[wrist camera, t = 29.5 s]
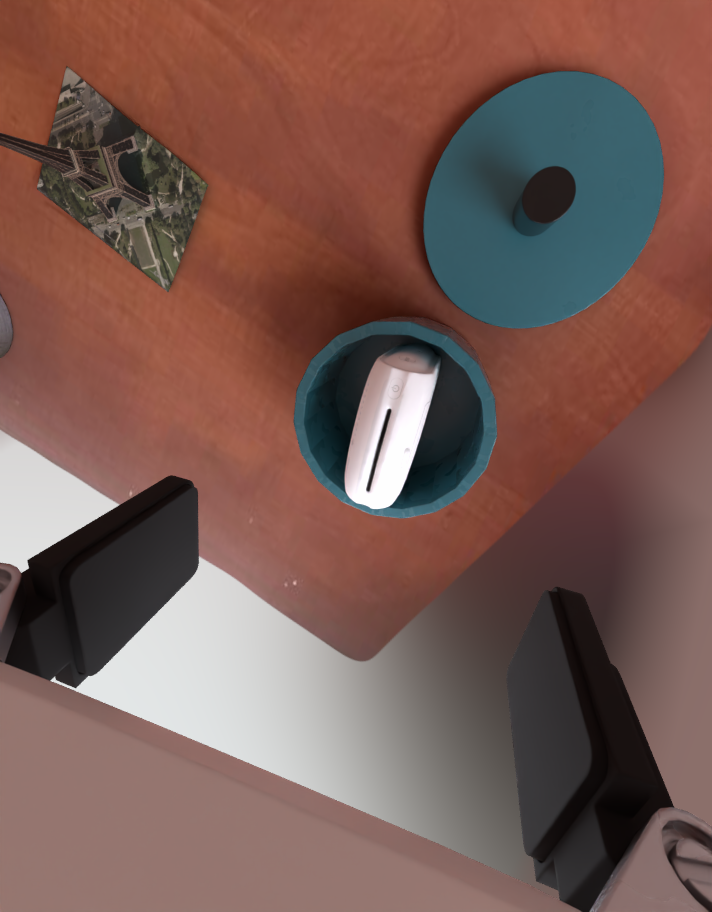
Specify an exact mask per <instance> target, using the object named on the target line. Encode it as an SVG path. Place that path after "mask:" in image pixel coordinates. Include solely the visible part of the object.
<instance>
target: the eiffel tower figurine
mask: <svg viewBox="0 0 712 912" xmlns="http://www.w3.org/2000/svg"><path fill="white" fill-rule="evenodd" d="M0 145H1V146H4V147H6V148H9V149H11V150H13V151H16V152H18V153H21V154H23V155H25V156H28V157H30V158H32V159H35V160H37V161H39V162H41V163H43V164H42V169H41V173H40V177H39V181H38V186H37V189H38V190H39V191H40V192H41V193H43V194H44V195H45V196H46V197H48V198H49V199H50V200H52V201H53V202H54V203H55V204H57V205H58V206H59V207H60V208H62V209H63V210H64V211H66V212H67V213H68V214H69V215H71V216H72V217H73V218H74V219H76V220H77V221H78V222H80V223H81V224H82V225H83V226H85V227H86V228H87V229H88V230H90V231H91V232H92V233H94V234H95V235H96V236H97V237H99V238H100V239H101V240H102V241H104V242H105V243H106V244H107V245H109V246H110V247H111V248H113V249H114V250H115V251H116V252H118V253H119V254H120V255H121V256H123V257H124V258H125V259H127V260H128V261H129V262H130V263H132V264H133V265H134V266H135V267H137V268H138V269H139V270H141V271H142V272H143V273H144V274H146V275H147V276H148V277H149V278H151V279H152V280H153V281H155V282H156V283H157V284H158V285H160V286H161V287H162V288H164V289H165V290H166V291H167V292H169V289H170V287H171V284H172V282H173V279H174V276H175V274H176V271H177V268H178V266H179V263H180V260H181V258H182V255H183V252H184V250H185V247H186V244H187V242H188V239H189V236H190V233H191V231H192V228H193V225H194V222H195V219H196V216H197V213H198V211H199V208H200V205H201V202H202V200H203V197H204V194H205V192H206V189H207V187H208V184H207V183H205V182H204V181H203V180H202V179H201V178H200V177H199V176H198V175H197V174H195V173H194V172H193V171H192V170H191V169H190V168H189V167H187V166H186V165H185V164H184V163H183V162H182V161H181V160H179V159H178V158H177V157H176V156H175V155H173V154H172V153H171V152H170V151H169V150H167V149H166V148H165V147H163V146H162V145H161V144H160V143H158V142H157V141H156V140H154V139H153V138H152V137H151V136H149V135H148V134H147V133H145V132H144V131H143V130H142V129H141V128H140V126H137V125H135V124H134V123H133V122H132V121H130V120H129V119H128V118H127V117H125V116H124V115H123V114H122V113H121V112H119V111H118V110H117V109H116V108H115V107H113V106H112V105H111V104H110V103H109V102H108V101H106V100H105V99H104V98H103V97H102V96H101V95H100V94H98V93H97V92H96V91H95V90H94V89H93V88H92V87H90V86H89V85H88V84H87V83H86V82H85V81H84V80H83V79H81V78H80V77H79V76H78V75H77V74H76V73H74V72H73V71H72V70H71V69H70V68H69V67H66V71H65V75H64V80H63V84H62V88H61V92H60V97H59V101H58V105H57V109H56V114H55V118H54V122H53V126H52V130H51V134H50V137H49V141H48V145H47V146H46V145H42V144H38V143H35V142H31V141H27V140H24V139H20V138H17V137H13V136H10V135H6V134H3V133H0Z"/></svg>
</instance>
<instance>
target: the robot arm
mask: <svg viewBox="0 0 712 912" xmlns="http://www.w3.org/2000/svg"><path fill="white" fill-rule="evenodd" d="M198 564H199V550H198V491H197V489H196V488H195V487H194V484H193V483H192V481H190V480H187V479H183V478H180V477H176V476H168V477H166V478H164V479H163V480H161V481H159V482H158V483H156V484H154V485H153V486H151V487H149V488H148V489H146V490H144V491H143V492H141V493H139V494H138V495H136V496H134V497H133V498H131V499H129V500H128V501H126V502H124V503H123V504H121V505H119V506H118V507H116V508H114V509H113V510H111V511H109V512H107V513H106V514H104V515H102V516H101V517H99V518H98V519H96V520H94V521H92V522H91V523H89V524H87V525H86V526H84V527H82V528H81V529H79V530H77V531H76V532H74V533H72V534H71V535H69V536H67V537H66V538H64V539H62V540H61V541H59V542H57V543H56V544H54V545H52V546H50V547H49V548H47V549H45V550H44V551H42V552H40V553H39V554H37V555H35V556H34V557H32V558H30V559H29V560H28V565H29V569H27V570H26V571H24V572H22V573H21V572H20V571H19V569H18V568H17V567H15V566H13V565H11V564H6V563H0V912H712V827H711V826H710V825H709V824H707V823H706V822H705V821H703V820H701V819H700V818H698V817H696V816H694V815H693V814H691V813H689V812H687V811H684V810H680V809H677V808H674V806H673V804H672V801H671V799H670V796H669V794H668V791H667V789H666V787H665V784H664V781H663V779H662V777H661V774H660V772H659V769H658V767H657V764H656V762H655V759H654V757H653V754H652V752H651V750H650V747H649V744H648V742H647V740H646V737H645V734H644V732H643V730H642V727H641V725H640V722H639V720H638V717H637V715H636V713H635V710H634V707H633V705H632V703H631V700H630V698H629V695H628V693H627V690H626V688H625V685H624V683H623V680H622V678H621V676H620V673H619V672H618V670H617V668H616V667H615V666H614V665H612V664H611V663H610V661H609V658H608V656H607V653H606V650H605V648H604V645H603V643H602V640H601V638H600V635H599V633H598V630H597V627H596V625H595V622H594V620H593V617H592V615H591V612H590V610H589V607H588V605H587V602H586V599H585V597H584V596H583V595H582V594H580V593H577V592H573V591H570V590H566V589H563V588H559V587H555V588H554V589H553V590H552V591H548V590H545V591H544V592H543V594H542V596H541V598H540V600H539V602H538V605H537V607H536V609H535V611H534V613H533V615H532V617H531V620H530V622H529V624H528V626H527V628H526V630H525V632H524V635H523V637H522V639H521V641H520V643H519V646H518V648H517V650H516V652H515V654H514V656H513V658H512V660H511V662H510V665H509V667H508V671H507V689H508V699H509V708H510V719H511V729H512V738H513V748H514V757H515V768H516V777H517V787H518V797H519V805H520V816H521V826H522V836H523V844H524V849H525V852H526V854H527V855H528V856H531V857H533V859H534V867H535V876H536V881H537V882H540V883H542V884H545V885H547V886H549V887H551V888H554V889H556V890H558V891H559V898H560V900H558V899H556V898H554V897H552V896H550V895H548V894H546V893H544V892H542V891H540V890H538V889H536V888H534V887H532V886H530V885H528V884H526V883H524V882H522V881H519V880H517V879H515V878H513V877H511V876H508V875H506V874H504V873H502V872H500V871H497V870H495V869H493V868H491V867H488V866H486V865H484V864H482V863H480V862H477V861H475V860H473V859H471V858H468V857H466V856H464V855H462V854H459V853H457V852H455V851H453V850H451V849H448V848H446V847H444V846H442V845H439V844H437V843H435V842H433V841H430V840H428V839H426V838H423V837H421V836H418V835H416V834H414V833H412V832H409V831H407V830H405V829H402V828H400V827H397V826H395V825H393V824H390V823H388V822H386V821H383V820H381V819H379V818H376V817H374V816H372V815H369V814H367V813H365V812H362V811H360V810H358V809H355V808H353V807H351V806H348V805H346V804H344V803H341V802H339V801H337V800H334V799H332V798H329V797H327V796H325V795H323V794H320V793H318V792H316V791H313V790H311V789H309V788H306V787H304V786H301V785H299V784H297V783H294V782H292V781H289V780H287V779H285V778H282V777H280V776H278V775H275V774H273V773H271V772H268V771H266V770H263V769H261V768H259V767H256V766H254V765H252V764H249V763H247V762H244V761H242V760H240V759H237V758H235V757H233V756H230V755H228V754H225V753H223V752H221V751H218V750H216V749H214V748H211V747H209V746H206V745H204V744H202V743H199V742H197V741H194V740H192V739H189V738H187V737H185V736H183V735H180V734H177V733H175V732H173V731H171V730H168V729H166V728H163V727H161V726H159V725H156V724H154V723H151V722H149V721H146V720H144V719H142V718H139V717H137V716H134V715H132V714H129V713H127V712H124V711H122V710H120V709H117V708H115V707H113V706H110V705H108V704H105V703H103V702H100V701H98V700H95V699H93V698H91V697H88V696H86V695H83V694H81V693H79V692H76V691H74V690H71V689H69V688H67V687H64V686H62V685H59V684H57V683H54V682H51V681H50V680H51V679H52V678H53V677H55V678H56V680H57V681H60V682H62V683H65V684H67V685H69V686H72V687H74V688H76V687H77V686H79V684H81V682H82V681H84V680H85V679H86V678H87V677H88V676H92V675H94V674H96V673H97V672H99V671H100V670H101V669H102V668H103V667H104V666H105V665H106V664H107V663H108V662H109V661H110V660H111V659H112V657H113V656H115V655H116V654H117V653H118V652H119V651H120V650H121V649H122V648H123V647H124V646H125V644H126V643H127V642H128V641H129V640H130V639H131V638H132V637H133V636H134V635H135V634H136V633H137V632H138V631H139V630H140V629H141V628H142V627H143V626H144V625H145V624H146V623H147V622H148V621H149V620H150V619H151V618H152V617H153V616H154V615H155V614H156V613H157V612H158V611H159V610H160V609H161V608H162V607H163V606H164V605H165V604H166V603H167V602H168V601H169V600H170V599H171V598H172V597H173V596H174V595H175V594H176V592H178V591H179V590H180V589H181V587H183V586H184V585H185V583H187V582H188V581H189V580H190V579H191V577H192V576H193V575H194V574H195V572H196V570H197V568H198Z"/></svg>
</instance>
